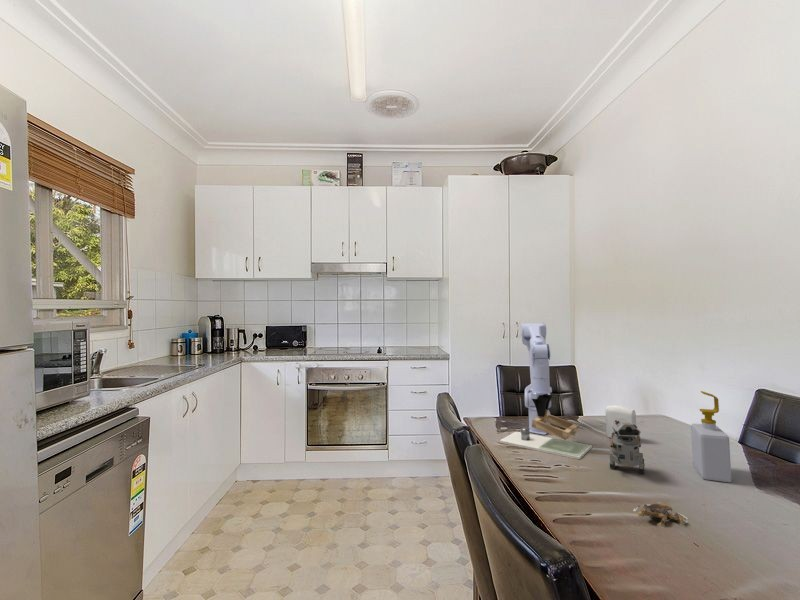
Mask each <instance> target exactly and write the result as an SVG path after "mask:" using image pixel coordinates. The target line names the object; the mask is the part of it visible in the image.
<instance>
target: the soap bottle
mask: <svg viewBox="0 0 800 600" xmlns="http://www.w3.org/2000/svg"><path fill="white" fill-rule="evenodd" d="M700 393H701V394H703V395H704V396H705V395H706V396H709V397H713V402H714V403H713V404H714V407H713V409H710V408H709V409H707V408H699V411H700V412H701V413H702V414H701V415H702V416H703V415H704V418H701V419H700V422H701V423H691V425H690V430H691V432H690V433H691V454H692V464H693V466H694V467H695V469H696V471H697V472H698V473H699V475H700V477H701V478H702V479H703V480H707V481H708V480H709V481H716V482H723V483H732V468H731V467H732V466H731V465H732V464H731V463H732V462H731V447H730V444H731V443H730V437H729V436H728V434H727V433H726V432H725V431H723V430H722V429H721V428H720V427H719V426H718V425H716V423H717V421H716V420H715V419H713V416H715V414H718V413H719V411H720V404H719V398H718V397H717V396H716V395H714V394H712V393H708V392H705V391H702V390H701V391H700Z"/></svg>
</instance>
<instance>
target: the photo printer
mask: <svg viewBox="0 0 800 600" xmlns="http://www.w3.org/2000/svg"><path fill="white" fill-rule="evenodd" d="M615 419H626V420H627V421H628V422H630V423H631V424H632V425H633V424H634V425H636V426H637V414H636V411H635V409H633V408H631V407H629V406H625V405H622V404H621V405H620V404H612V405H607V406H606V408H605V424H606V425H605V427H606V437H607V438H610V439H612V433H613V432H614V433H615V431H614V430H613V428H612V426H613V424H614V423H613V421H614V420H615ZM615 435H616V434H615ZM635 437H636V438H637V436H635Z"/></svg>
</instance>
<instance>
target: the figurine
mask: <svg viewBox="0 0 800 600" xmlns="http://www.w3.org/2000/svg"><path fill="white" fill-rule="evenodd" d="M613 423H614V424H613V426H612V428H613V430H614V431H615V433H614V432H613V433H612V438H610V443H609V446H610V448H609V469H610V470H611V469H612V470H614V469H615V466H616V464H617V465H619V466H620V465H621V466H627V467H637V466H638V467H639V468H638V469H639V470H638V471H639V474H640V475H645V467H646V465H645V464H646V463H645V459H644V453H643V452H640V448H642V443H641V436H640V435H641V431H640V430H639V429H638V426H637V424H636V425H634V424H633V425H632V424H631V423H630V422H628V421H627V420H626V419H615V420H614V421H613ZM615 434H616V435H615ZM635 436H637V438H636V437H635Z"/></svg>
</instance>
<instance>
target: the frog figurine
mask: <svg viewBox="0 0 800 600" xmlns="http://www.w3.org/2000/svg"><path fill="white" fill-rule="evenodd" d="M639 507H641V505H638V506H635V507H634V508H633V512H636V511H637V510H638V508H639ZM636 514H637V516H638V517H643V518H644V517H646V518H650V519H651V518H652V519H654V520H656V521H660V522H658V523H655V525H656V526H658V527H659V528H667V527H666V522H669V521H671V520H672V519H673V520H676V523H677V524H678V525H681V526H684V525H685V524H687V523H688V517H687V516H686V515H684V514H682V513H680V512H673V507H671V505H670V504H667V502H666V501H662V502H656V503H652V504H648V503H645V504H643V505H642V508H641V509H640V510H639V511H638V512H637V513H636Z"/></svg>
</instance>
